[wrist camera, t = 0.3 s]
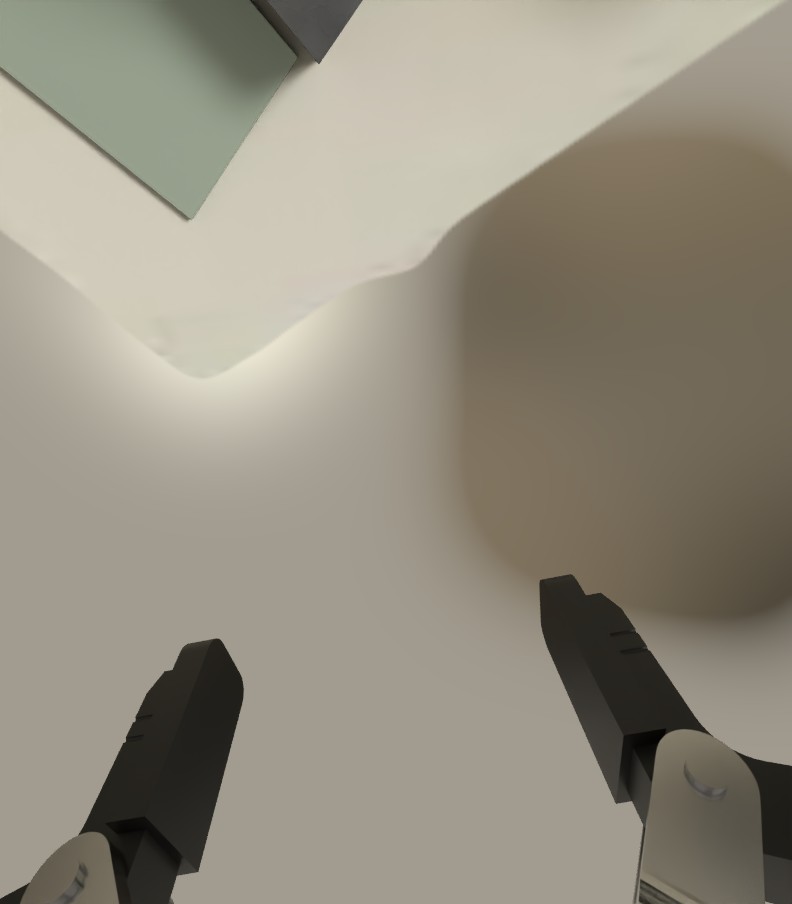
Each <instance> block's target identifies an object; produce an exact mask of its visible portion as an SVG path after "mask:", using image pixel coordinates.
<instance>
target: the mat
mask: <svg viewBox="0 0 792 904" xmlns="http://www.w3.org/2000/svg"><path fill="white" fill-rule="evenodd" d="M297 58H298V56H297V55H296V54H295V53H294V51H293V50H292V49H291V48H290V47H289V45H288V44H287V43H286V42H285V41H284V39H283V38H282V37H281V36H280V35H279V33H278V32H277V31H276V30H275V29H274V27H273V26H272V25H271V24H270V23H269V22H268V20H267V19H266V18H265V17H264V16H263V14H262V13H261V12H260V11H259V10H258V8H257V7H256V6H255V5H254V4H253V2H252V1H251V0H0V67H1V68H2V69H4V70H5V71H6V72H7V73H9V74H10V75H11V76H12V77H14V78H15V79H16V80H17V81H19V82H20V83H21V84H22V85H24V86H25V87H26V88H27V89H29V90H30V91H31V92H32V93H34V94H35V95H36V96H37V97H39V98H40V99H41V100H42V101H44V102H45V103H46V104H47V105H49V106H50V107H51V108H52V109H54V110H55V111H56V112H57V113H59V114H60V115H61V116H62V117H64V118H65V119H66V120H67V121H69V122H70V123H71V124H72V125H74V126H75V127H76V128H77V129H79V130H80V131H81V132H82V133H84V134H85V135H86V136H87V137H89V138H90V139H91V140H92V141H94V142H95V143H96V144H97V145H99V146H100V147H101V148H102V149H104V150H105V151H106V152H107V153H109V154H110V155H111V156H112V157H114V158H115V159H116V160H117V161H119V162H120V163H121V164H122V165H124V166H125V167H126V168H127V169H129V170H130V171H131V172H132V173H134V174H135V175H136V176H137V177H139V178H140V179H141V180H142V181H144V182H145V183H146V184H147V185H149V186H150V187H151V188H152V189H153V190H155V191H156V192H157V193H158V194H160V195H161V196H162V197H163V198H165V199H166V200H167V201H168V202H170V203H171V204H172V205H173V206H175V207H176V208H177V209H178V210H180V211H181V212H182V213H183V214H185V215H186V216H187V217H188V218H190V219H191V220H192V219H193V218H194V216H195V215H196V213H197V212H198V210H199V209H200V207H201V205H202V204H203V202H204V201H205V199H206V198H207V196H208V195H209V193H210V192H211V190H212V189H213V187H214V185H215V184H216V182H217V181H218V179H219V178H220V176H221V175H222V173H223V172H224V170H225V169H226V167H227V166H228V164H229V162H230V161H231V159H232V158H233V156H234V155H235V153H236V152H237V150H238V149H239V147H240V146H241V144H242V142H243V141H244V139H245V138H246V136H247V135H248V133H249V132H250V130H251V129H252V127H253V126H254V124H255V122H256V121H257V119H258V118H259V116H260V115H261V113H262V112H263V110H264V109H265V107H266V106H267V104H268V102H269V101H270V99H271V98H272V96H273V95H274V93H275V92H276V90H277V89H278V87H279V86H280V84H281V83H282V81H283V79H284V78H285V76H286V75H287V73H288V72H289V70H290V69H291V67H292V66H293V64H294V63H295V61H296V59H297Z"/></svg>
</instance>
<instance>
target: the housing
mask: <svg viewBox="0 0 792 904" xmlns="http://www.w3.org/2000/svg"><path fill="white" fill-rule="evenodd" d="M267 1H268V2H269V4H270V5H271V6H272V7H273V9H274V10H275V11H276V12H277V13H278V15H279V16H280V17H281V18H282V20H283V21H284V22H285V23H286V25H287V26H288V27H289V28H290V29H291V31H292V32H293V33H294V34H295V36H296V37H297V38H298V39H299V40H300V42H301V43H302V44H303V45H304V47H305V48H306V49H307V50H308V52H309V53H310V54H311V55H312V56H313V58H314V59H315V60H316V61H317V63H318V64H320V62H321V61H322V59H323V58H324V56H325V55H326V53H327V52H328V50H329V49H330V47H331V46H332V45H333V43H334V42H335V40H336V39H337V37H338V36H339V34H340V33H341V31H342V30H343V28H344V27H345V25H346V24H347V22H348V21H349V19H350V18H351V17H352V15H353V14H354V12H355V11H356V9H357V8H358V6H359V5H360V3H361V2H362V0H267Z"/></svg>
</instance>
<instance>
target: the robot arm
mask: <svg viewBox="0 0 792 904" xmlns="http://www.w3.org/2000/svg"><path fill="white" fill-rule="evenodd" d="M540 611H541V627H542V631H543V635H544V639H545V642H546V645H547V648H548V650H549V652H550V655H551V657H552V659H553V661H554V664H555V666H556V668H557V671H558V673H559V675H560V677H561V680H562V682H563V684H564V686H565V689H566V691H567V693H568V696H569V698H570V700H571V702H572V705H573V707H574V709H575V711H576V714H577V716H578V718H579V721H580V723H581V725H582V728H583V730H584V732H585V734H586V737H587V739H588V741H589V743H590V746H591V748H592V750H593V752H594V755H595V757H596V759H597V761H598V764H599V766H600V768H601V771H602V773H603V775H604V778H605V780H606V782H607V784H608V787H609V789H610V791H611V794H612V796H613V798H614V800H615V803H616V804H617V803H623V802H629V801H632V802H633V804H634V806H635V808H636V811H637V813H638V814H639V817H640V819H641V821H642V823H643V829H642V836H641V844H640V852H639V859H638V867H637V874H636V882H635V889H634V897H633V904H765V901H766V902H770V903H773V904H792V766H789V765H783V764H777V763H772V762H766V761H761V760H757V759H753V758H751V757H747V756H745V755H743V754H740V753H738V752H736V751H734V750H732V749H731V748H730V747H728V746H727V745H725V744H724V743H723V742H721V741H719V740H718V739H716V738H714V737H713V736H712V735H711V734H710V733H709V732H708V731H707V730H706V729H705V728H704V727H703V726H702V725H701V724H700V723H699V721H698V720H697V719H696V717H695V716H694V715H693V713H692V712H691V710H690V709H689V707H688V706H687V704H686V703H685V701H684V700H683V698H682V697H681V695H680V694H679V693H678V691H677V690H676V688H675V687H674V685H673V684H672V682H671V681H670V679H669V678H668V676H667V675H666V674H665V672H664V670H663V669H662V668H661V666H660V665H659V664H658V662H657V660H656V659H655V657H654V656H653V654H652V653H651V652H650V651H649V650H648V649H647V646H646V644H645V643H644V641H643V640H642V639H641V637H640V635H639V634H638V633H636V631H635V628H634V627H633V625H632V624H631V622H630V621H629V619H628V618H627V616H626V615H625V614H624V612H623V610H622V609H621V608H620V607H619V606H617V605H616V604H615V603H613V602H612V601H611V600H609V599H608V598H607V597H606V596H604V595H603V594H602V593H597V594H592V595H585V593H584V591H583V590H582V588H581V587H580V585H579V583H578V582H577V580H576V579H575V577H574V576H573V575H571V574H570V575H564V576H559V577H554V578H548V579H543V580H540ZM243 692H244V688H243V681H242V677H241V675H240V673H239V671H238V669H237V667H236V666H235V664H234V662H233V660H232V658H231V657H230V655H229V653H228V651H227V649H226V648H225V646H224V644H223V642H222V641H221V640H220V639H212V640H207V641H201V642H196V643H190V644H187V645H185V646H184V647H183V648H182V650H181V652H180V654H179V656H178V659H177V661H176V663H175V665H174V668H173V670H170V671H165V672H164V673H163V674H162V676H161V677H160V678H159V679H158V680H157V682H156V683H155V684H154V686H153V687H152V688H151V689H150V690H149V691H148V693H147V694H146V696H145V699H144V701H143V703H142V705H141V707H140V709H139V711H138V713H137V715H136V721H135V722H133V724H132V726H131V728H130V730H129V732H128V734H127V736H126V742H125V743H123V745H122V747H121V749H120V751H119V753H118V755H117V758H116V760H115V762H114V764H113V766H112V768H111V770H110V772H109V774H108V777H107V779H106V781H105V783H104V785H103V787H102V789H101V791H100V793H99V796H98V798H97V800H96V802H95V804H94V806H93V808H92V810H91V812H90V814H89V817H88V819H87V821H86V823H85V825H84V827H83V828H82V830H81V832H80V833H79V835H78V836H76V837H74V838H72V839H71V840H69V841H68V842H66V843H65V844H63V845H62V846H61V847H60V848H59V849H57V850H56V851H55V852H54V853H53V854H52V855H51V856H50V857H49V858H48V859H47V860H46V861H45V863H44V864H43V865H42V866H41V867H40V869H39V870H38V871H37V873H36V874H35V876H34V877H33V879H32V880H31V882H30V883H28V884H27V885H25V886H23V887H21V888H19V889H17V890H16V891H14V892H12V893H10V894H8V895H6V896H4V897H3V898H1V899H0V904H174V903H173V900H172V898H171V893H172V890H173V887H174V883H175V880H176V876H177V875H183V874H189V873H195V872H198V870H199V867H200V863H201V859H202V855H203V851H204V848H205V843H206V840H207V836H208V832H209V829H210V825H211V821H212V817H213V813H214V809H215V806H216V802H217V798H218V794H219V790H220V786H221V783H222V779H223V775H224V771H225V767H226V764H227V760H228V756H229V752H230V748H231V744H232V740H233V737H234V733H235V729H236V725H237V721H238V717H239V714H240V709H241V706H242V702H243Z"/></svg>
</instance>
